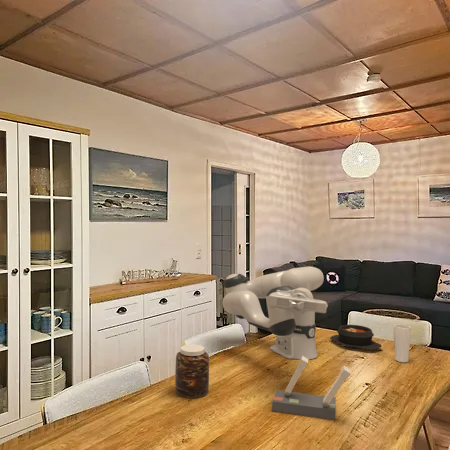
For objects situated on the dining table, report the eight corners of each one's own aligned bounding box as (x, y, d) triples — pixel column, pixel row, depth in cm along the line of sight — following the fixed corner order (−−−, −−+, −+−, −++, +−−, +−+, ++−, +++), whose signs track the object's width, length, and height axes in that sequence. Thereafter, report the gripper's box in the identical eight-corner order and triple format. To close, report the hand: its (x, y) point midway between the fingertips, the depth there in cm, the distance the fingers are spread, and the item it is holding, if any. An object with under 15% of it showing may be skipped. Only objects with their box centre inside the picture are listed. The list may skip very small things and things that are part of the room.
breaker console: (276, 399, 134) (276, 389, 134) (335, 406, 129) (335, 397, 129) (272, 411, 125) (272, 401, 125) (335, 420, 120) (335, 409, 120)
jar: (213, 387, 142) (214, 345, 142) (201, 401, 131) (201, 355, 131) (183, 382, 146) (184, 341, 146) (168, 395, 135) (169, 350, 135)
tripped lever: (284, 389, 132) (302, 355, 130) (290, 393, 131) (308, 359, 130) (282, 394, 128) (301, 359, 127) (288, 398, 128) (307, 363, 126)
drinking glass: (412, 364, 169) (412, 328, 169) (394, 362, 171) (395, 327, 171) (408, 359, 176) (408, 324, 176) (391, 357, 177) (392, 323, 177)
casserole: (389, 348, 191) (389, 331, 191) (367, 356, 179) (367, 337, 179) (344, 336, 210) (344, 320, 210) (321, 342, 199) (322, 325, 199)
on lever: (321, 399, 125) (343, 365, 123) (327, 403, 124) (350, 369, 122) (320, 404, 121) (344, 369, 119) (327, 409, 121) (350, 373, 119)
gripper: (327, 314, 144) (326, 320, 131) (271, 306, 150) (264, 310, 137) (329, 296, 145) (327, 300, 131) (273, 289, 151) (266, 292, 137)
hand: (295, 305), depth 134 cm, fingers closed
